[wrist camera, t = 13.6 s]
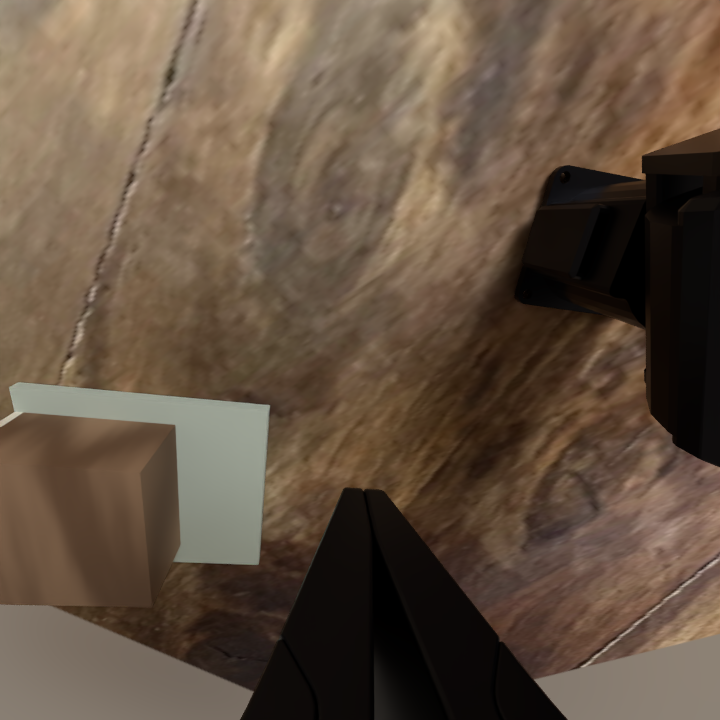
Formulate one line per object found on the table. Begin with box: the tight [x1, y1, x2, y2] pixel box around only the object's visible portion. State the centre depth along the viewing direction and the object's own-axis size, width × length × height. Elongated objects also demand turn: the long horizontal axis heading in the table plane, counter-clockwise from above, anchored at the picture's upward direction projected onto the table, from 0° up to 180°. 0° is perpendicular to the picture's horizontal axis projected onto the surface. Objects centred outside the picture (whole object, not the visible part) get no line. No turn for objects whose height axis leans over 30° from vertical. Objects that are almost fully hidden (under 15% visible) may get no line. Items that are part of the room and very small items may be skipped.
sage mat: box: [9, 382, 270, 565], centre depth 22 cm, size 13×12×1 cm
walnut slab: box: [0, 412, 181, 607], centre depth 19 cm, size 4×9×8 cm
